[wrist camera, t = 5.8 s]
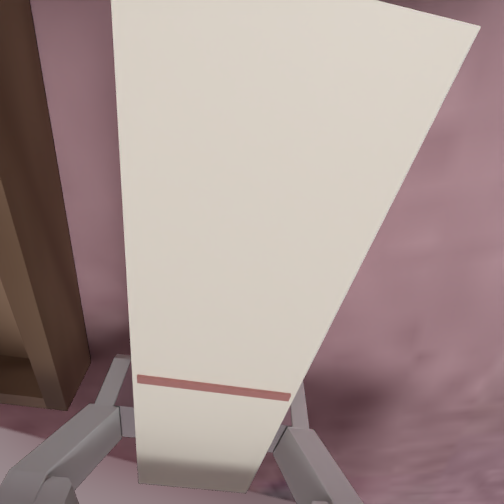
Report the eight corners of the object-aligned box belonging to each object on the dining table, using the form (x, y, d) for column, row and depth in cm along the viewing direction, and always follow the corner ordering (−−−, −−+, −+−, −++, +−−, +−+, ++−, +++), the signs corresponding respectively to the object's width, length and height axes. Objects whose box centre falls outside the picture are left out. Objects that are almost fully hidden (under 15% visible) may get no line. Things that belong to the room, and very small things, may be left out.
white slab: (353, 20, 6) (484, 25, 3) (250, 357, 13) (245, 495, 9) (199, -18, 6) (104, -71, 2) (173, 346, 12) (137, 485, 9)
